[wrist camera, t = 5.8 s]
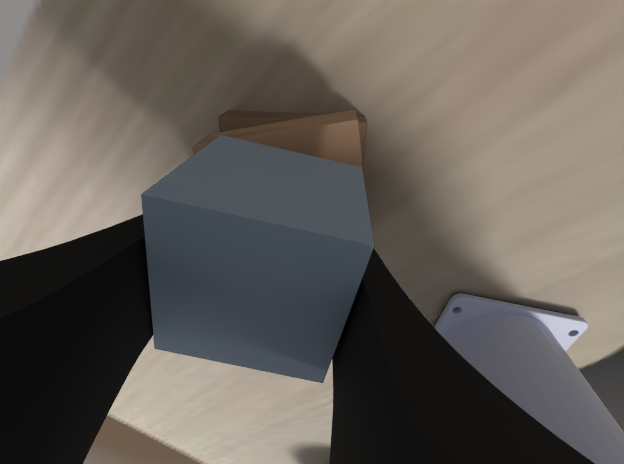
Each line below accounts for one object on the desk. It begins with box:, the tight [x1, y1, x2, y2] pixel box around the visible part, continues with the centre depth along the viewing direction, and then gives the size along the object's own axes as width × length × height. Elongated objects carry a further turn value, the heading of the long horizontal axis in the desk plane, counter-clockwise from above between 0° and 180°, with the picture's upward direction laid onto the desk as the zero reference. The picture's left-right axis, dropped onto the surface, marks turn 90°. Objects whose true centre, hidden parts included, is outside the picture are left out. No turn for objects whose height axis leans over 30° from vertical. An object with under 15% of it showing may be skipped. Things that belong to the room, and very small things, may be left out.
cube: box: [141, 135, 374, 383], centre depth 9 cm, size 4×4×4 cm
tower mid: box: [193, 109, 364, 177], centre depth 13 cm, size 6×6×2 cm
